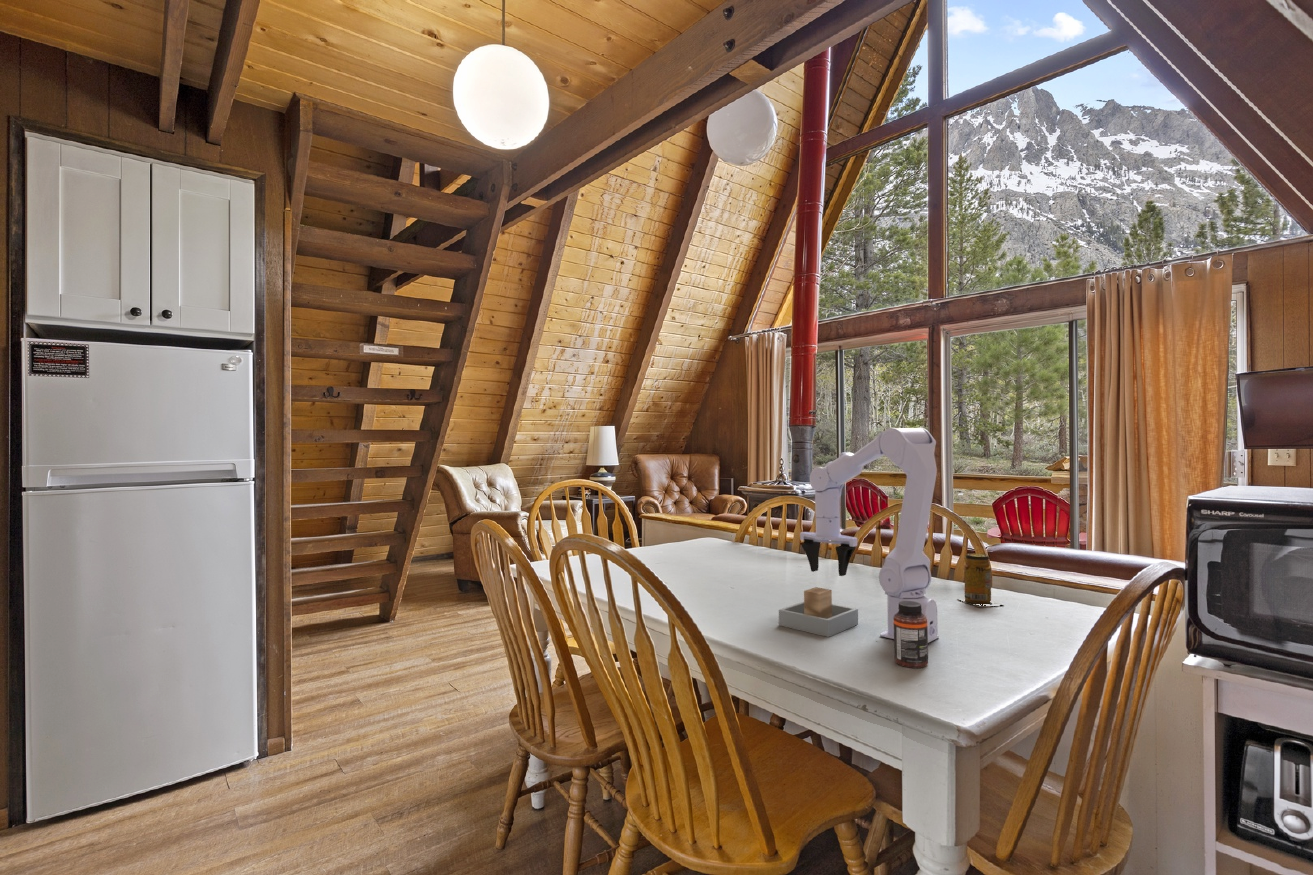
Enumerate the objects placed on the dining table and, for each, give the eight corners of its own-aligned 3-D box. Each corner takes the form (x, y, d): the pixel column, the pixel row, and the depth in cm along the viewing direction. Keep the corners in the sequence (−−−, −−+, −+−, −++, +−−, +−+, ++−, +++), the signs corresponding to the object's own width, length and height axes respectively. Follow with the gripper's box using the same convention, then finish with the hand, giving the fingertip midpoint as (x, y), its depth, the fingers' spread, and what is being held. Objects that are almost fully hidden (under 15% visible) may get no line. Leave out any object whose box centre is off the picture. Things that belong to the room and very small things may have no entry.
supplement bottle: (900, 655, 127) (899, 597, 127) (932, 662, 123) (931, 602, 123) (889, 664, 123) (888, 603, 122) (922, 671, 119) (921, 608, 119)
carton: (832, 620, 149) (831, 589, 149) (820, 625, 145) (819, 593, 145) (816, 617, 152) (816, 587, 152) (804, 621, 148) (804, 590, 148)
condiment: (980, 598, 171) (979, 551, 171) (1004, 606, 162) (1004, 557, 162) (955, 600, 169) (955, 553, 169) (979, 608, 161) (978, 559, 161)
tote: (858, 624, 148) (857, 608, 148) (828, 636, 140) (828, 620, 140) (809, 614, 157) (809, 599, 157) (778, 625, 149) (778, 609, 149)
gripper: (792, 516, 161) (793, 571, 161) (846, 520, 151) (846, 580, 151) (808, 513, 166) (809, 567, 166) (861, 518, 156) (862, 575, 156)
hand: (828, 573), depth 159 cm, fingers open, 7 cm apart
